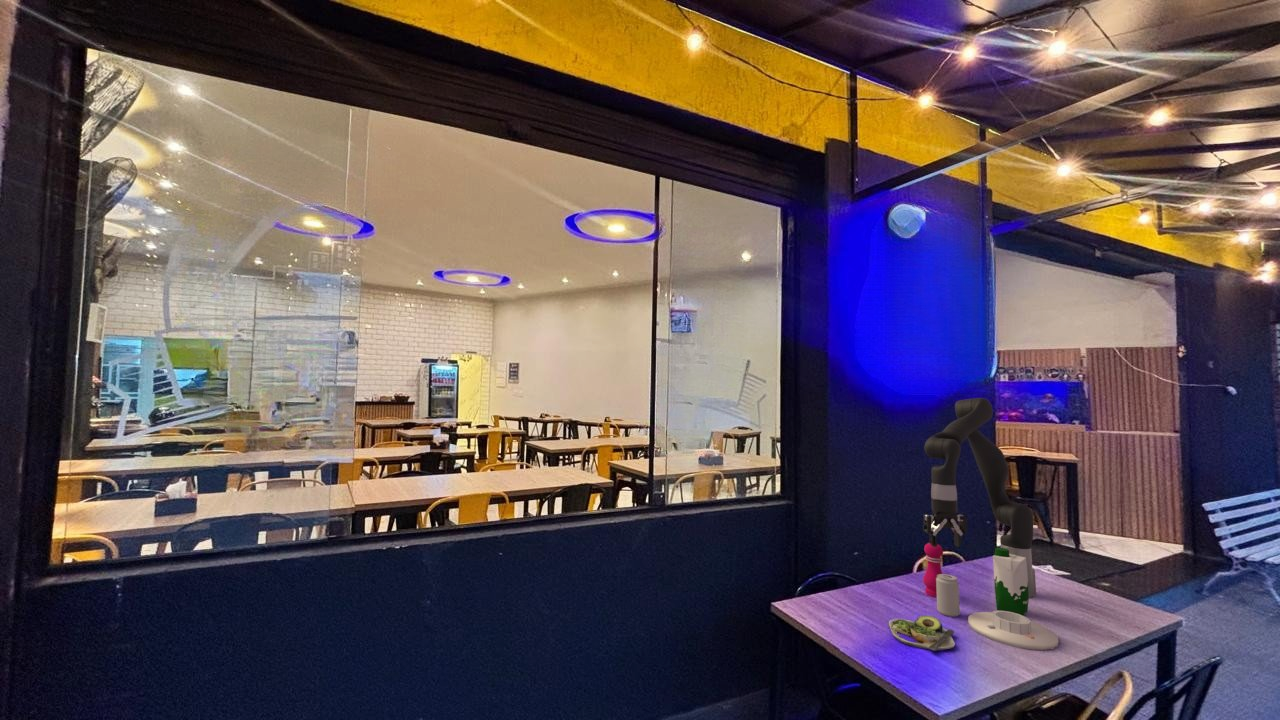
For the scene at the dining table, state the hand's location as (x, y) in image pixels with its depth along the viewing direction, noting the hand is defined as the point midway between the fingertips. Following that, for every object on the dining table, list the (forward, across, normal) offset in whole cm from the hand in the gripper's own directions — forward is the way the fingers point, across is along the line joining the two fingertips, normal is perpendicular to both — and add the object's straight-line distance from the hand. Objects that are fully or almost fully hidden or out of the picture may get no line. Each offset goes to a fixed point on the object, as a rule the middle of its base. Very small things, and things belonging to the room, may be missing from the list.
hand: (945, 546), depth 166 cm
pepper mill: (+22, -7, -16) cm, 28 cm away
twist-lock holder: (+22, -10, +14) cm, 28 cm away
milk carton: (+22, -24, -1) cm, 33 cm away
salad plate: (+22, +20, +15) cm, 34 cm away
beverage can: (+22, 0, 0) cm, 22 cm away
